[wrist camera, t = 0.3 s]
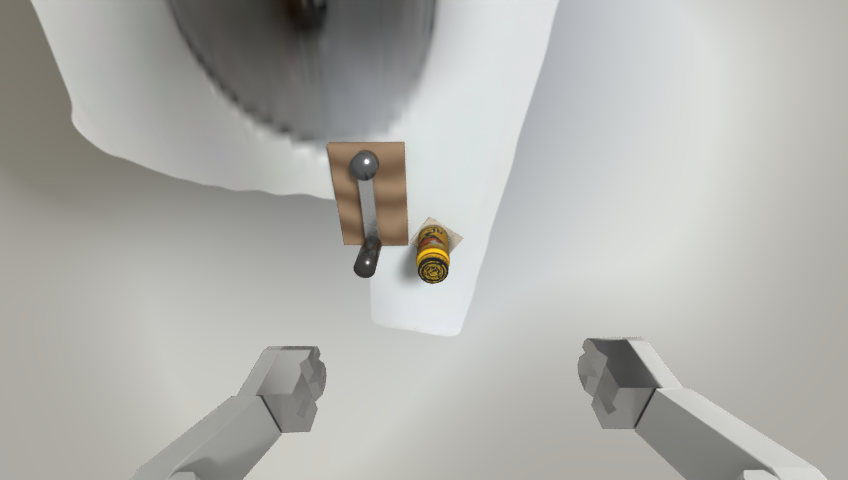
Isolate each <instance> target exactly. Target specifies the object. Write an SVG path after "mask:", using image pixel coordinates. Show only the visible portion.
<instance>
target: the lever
mask: <svg viewBox="0 0 848 480" xmlns="http://www.w3.org/2000/svg"><path fill="white" fill-rule="evenodd" d="M378 168H379V159H378V157H377V156H376V154H375V153H373V152H372V151H370V150H361V151H359V152H358V153H357V154H356V155H355V156H354V157H353V158H352V160H351V162H350V171H351V173H352V175H353V176H354V177H355V178H357V179H358V183H359V191H360V199H361V207H362V215H363V222H364V230H365V239H364V241H363V244H362V247H361V249H360V252H359V254H358V257H357V260H356V262H355V265H354V271H355V273H356V274H357V275H358V276H360V277H363V278H369V277H371V276H373V275H374V273H375V270H376V266H377V262H378V259H379V255H380V251H381V248H382V243H381V241H380V230H379V220H378V210H377V200H376V190H375V179H374V176H375V174H376V172H377V170H378Z"/></svg>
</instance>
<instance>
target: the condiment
mask: <svg viewBox="0 0 848 480" xmlns="http://www.w3.org/2000/svg"><path fill="white" fill-rule="evenodd" d="M448 238H449V239H448ZM462 239H463V238H462V237H461V236H459V235H458V234H456V233H454V232H453V231H451V230H450V229H448V228H447V227H445V226H444V225H442V224H440V223H439V222H437V221H436V220H434V219H432V218H431V217H429V218H428V219H427V220H426V222H425V223H424V224H423V225H422V227H421V228H420V229H419V231H418V232H417V233H416V234H415V236H414V237H413V239H412V240H411V241H410V242H409V243H410V244H412V245H414V246H416V247H417V257H416V263H417V266H418V274H419V276H420V277H421V279H422V280H423V281H425V282H427V283H430V284H434V283H439V282H441V281H443V280H444V279H445V278H446V277H447V275H448V269H449V268H448V267H449V264H450V258H449V254H450V253H451V252H452V250H453V249H454V248H455V247H456V246H457V245H458V244H459V242H460V241H461V240H462Z"/></svg>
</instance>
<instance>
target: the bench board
mask: <svg viewBox="0 0 848 480" xmlns="http://www.w3.org/2000/svg"><path fill="white" fill-rule="evenodd" d="M327 148H328V153H329V159H330V165H331V171H332V177H333V182H334V188H335V194H336V200H337V206H338V212H339V217H340V223H341V229H342V235H343V241H344V245H362V244H363V241H364V239H365V230H364V222H363V215H362V207H361V199H360V191H359V183H358V179H357V178H355V177H354V176H353V175H352V173H351V171H350V162H351V160H352V158H353V157H354V156H355V155H356V154H357V153H358V152H359V151H361V150H370V151H372V152H373V153H375V154H376V156H377V157H378V159H379V168H378V170H377V172H376V174H375V176H374V179H375V190H376V200H377V210H378V220H379V230H380V241H381V243H382V245H408V242H409V240H408V217H407V193H406V170H405V146H404V142H329V143H328V144H327Z"/></svg>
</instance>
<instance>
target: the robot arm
mask: <svg viewBox="0 0 848 480" xmlns="http://www.w3.org/2000/svg"><path fill="white" fill-rule="evenodd" d="M583 349H584V351H585V353H584V354H583V355H582V356H580V357H579V362H578V374H579V377H580V380H581V383H582V386H583V388H584V390H585V391H586V392H588V393H589V394H590V395H591V396H592V397H593V400H592V404H591V405H592V407H593V409H594V411H595V414H596V416H597V418H598V420H599V422H600V424H601V426H602V428H603V429H605V428H606V429H635V432H636V433H638V434H639V435H640V436H641V437H642V438H643V439H644V440H645V441H646V442H647V443H648V444H649V445H650V446H651V447H652V448H653V449H654V450H656V451H657V452H658V453H659V454H660V455H661V456H662V457H663V458H664V459H665V460H666V461H667V462H668V463H669V464H670V465H671V466H672V467H673V468H675V470H677V471H678V472H679V473H680V474H681V475H682V476H683V477H684V478H685V479H686V480H827V479H826V478H825V477H824V476H823V475H822V473H821V472H820V471H818V469H817V468H815V467H814V466H812V465H810V464H809V463H807V462H806V461H804V460H803V459H801V458H799V457H798V456H796V455H795V454H793V453H791V452H790V451H788V450H787V449H785V448H784V447H782V446H780V445H779V444H777V443H775V442H774V441H772V440H771V439H769V438H767V437H766V436H765V435H763V434H761V433H760V432H758V431H757V430H755V429H753V428H752V427H750V426H749V425H747V424H745V423H744V422H742V421H741V420H739V419H738V418H736V417H734V416H733V415H731V414H730V413H728V412H726V411H725V410H723V409H722V408H720V407H718V406H717V405H715V404H713V403H712V402H711V401H709V400H707V399H706V398H704V397H703V396H701V395H699V394H698V393H696V392H695V391H693V390H692V389H690V388H683V387H682V386H681V384H680V383H679V382H678V381H677V379H676V378H675V377H674V375H673V374H672V373H671V371H670V370H669V369H668V368H667V366H666V365H665V364H664V363H663V361H662V360H661V359H660V357H659V356H658V355H657V354H656V352H655V351H654V350H653V348H652V347H651V346H650V345H649V344H648V342H647V341H646V340H645V339H644V338H642V337H622V338H621V337H611V338H587V339H586V340H585V341H584V344H583ZM319 357H320V351H319V349H318V347H315V346H314V347H312V346H310V347H309V346H301V347H300V346H295V347H294V346H282V347H267V348H266V349H265V350H264V351H263V353H262V354H261V356H260V357H259V359H258V361H257V363H256V364H255V366H254V367H253V369H252V371H251V373H250V374H249V376H248V378H247V379H246V381H245V383H244V384H243V386H242V388H241V389H240V391H239V393H238V395H237V396H231V397H230V398H229V399H227V400H226V401H225V402H224V403H222V404H221V405H220V406H218V407H217V408H216V409H215V410H214V411H212V412H211V413H210V414H208V415H207V416H206V417H204V418H203V419H202V420H200V421H199V422H198V423H197V424H195V425H194V426H193V427H191V428H190V429H189V430H188V431H186V432H185V433H184V434H182V435H181V436H180V437H179V438H177V439H176V440H175V441H174V442H172V443H171V444H170V445H169V446H167V447H166V448H165V449H163V450H162V451H161V452H159V453H158V454H157V455H156V456H154V457H153V458H152V459H150V460H149V461H148V462H147V463H145V464H144V465H143V466H141V467H140V468H139V469H138V470H137V471H136V472H135V473H134V475H133V476H132V477H131V479H130V480H243V478H244V477H245V476H246V475H247V474H248V473H249V472H250V470H251V469H252V468H253V467H254V466H255V465H256V463H257V462H258V461H259V460H260V459H261V458H262V456H263V455H264V454H265V453H266V452H267V451H268V450H269V449H270V447H271V446H272V445H273V444H274V443H275V442H276V441H277V439H278V438H279V437H280V436H281V433H289V432H309V431H310V430H311V427H312V424H313V421H314V418H315V415H316V412H317V406H316V404H315V401H316V400H317V399H318V398H319V397H320V396H321V395H322V394H323V391H324V388H325V383H326V368H325V365H324V363H323V362H321V361H320V360H319Z"/></svg>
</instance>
